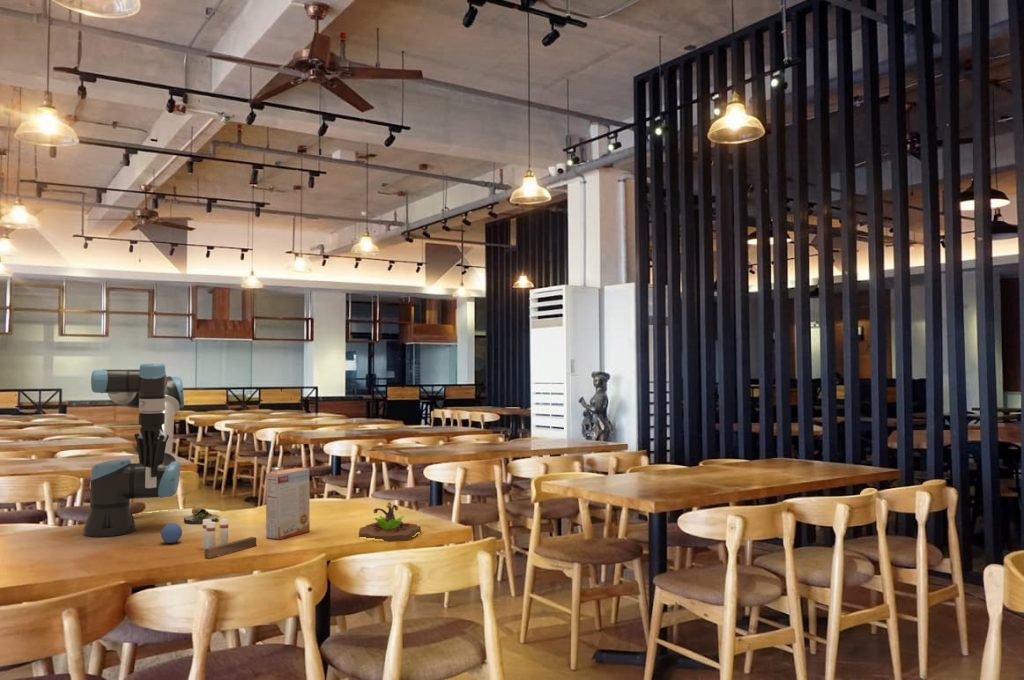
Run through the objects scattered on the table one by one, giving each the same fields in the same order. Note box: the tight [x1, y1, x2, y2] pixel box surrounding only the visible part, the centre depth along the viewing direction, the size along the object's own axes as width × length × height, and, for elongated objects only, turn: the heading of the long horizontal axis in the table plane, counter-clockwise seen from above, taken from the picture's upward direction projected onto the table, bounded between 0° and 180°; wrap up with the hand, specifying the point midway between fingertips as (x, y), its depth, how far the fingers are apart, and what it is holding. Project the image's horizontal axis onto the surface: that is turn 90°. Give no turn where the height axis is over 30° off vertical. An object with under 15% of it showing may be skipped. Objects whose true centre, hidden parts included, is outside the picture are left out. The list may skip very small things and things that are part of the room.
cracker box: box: [265, 467, 311, 540], centre depth 260 cm, size 14×6×21 cm, turn 150°
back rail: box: [204, 536, 257, 559], centre depth 237 cm, size 2×18×2 cm, turn 154°
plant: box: [358, 502, 422, 543], centre depth 260 cm, size 20×20×11 cm
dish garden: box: [183, 502, 220, 525], centre depth 282 cm, size 12×12×8 cm
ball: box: [160, 522, 183, 544], centre depth 248 cm, size 6×6×6 cm
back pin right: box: [206, 521, 216, 549], centre depth 237 cm, size 2×2×8 cm
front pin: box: [202, 519, 212, 550], centre depth 241 cm, size 2×2×8 cm
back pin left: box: [218, 518, 229, 546], centre depth 241 cm, size 2×2×8 cm
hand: (150, 487), depth 252 cm, fingers closed
